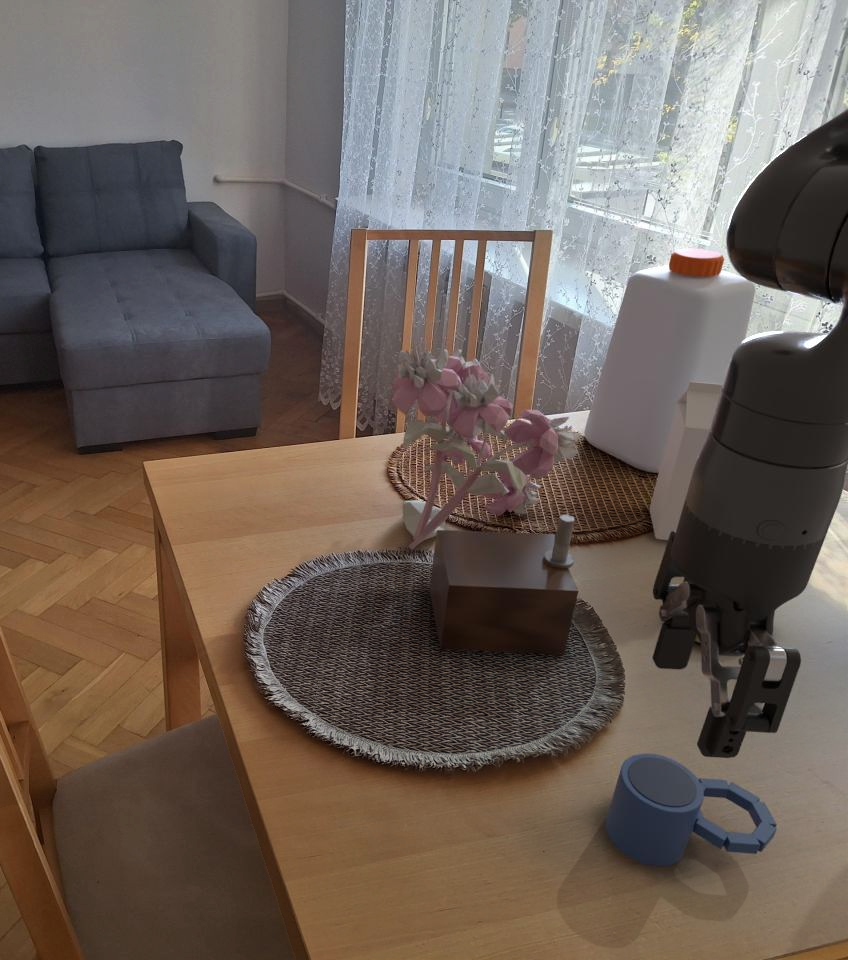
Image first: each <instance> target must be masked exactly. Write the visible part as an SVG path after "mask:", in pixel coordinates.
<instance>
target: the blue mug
mask: <svg viewBox="0 0 848 960" xmlns="http://www.w3.org/2000/svg"><path fill="white" fill-rule="evenodd" d="M620 767H621V768H620V771H619V774H618V777H617V781H616V783H615V787H614V791H613V795H612V798H611V801H610V805H609V807H608V811H607V815H606V818H605V830H606V833H607V836H608V837H609V839H610V841H611V843H613V845H614V846H615V847H616V848H617V849H618V850H619V851H620V852H621V853H623V854H624V855H625V856H627V857H629V858H630V859H632V860H634V861H636V862H639V863H641V864H644V865H648V866H654V867H668V866H671V865H674V864H676V863H677V862H679V861H680V860H681V859H682V858H683V856H684V854H685V851H686V848H687V845H688V843H689V840H690V837H691V835H692V833H694V834H696V835H697V836H699V837H700V838H702V839H704V840H705V841H706V842H708V843H709V844H711V845H712V846H714V847H715V848H717V849H718V850H722V849H723V847H724V849H725V852H727V853H740V854H753V855H758V852H760V853H763V851H764V850H765V849H766V847H767V846H768V845H769V843H770V842H771V841H772V840H773V838H774V837H775V835H776V832H777V823H776V821H775V819H774V817H773V815H772V814H771V812H770V809H769V808H768V806H767V805H766V802H764V801H760V800H761V798H760V797H759V796H757V795H756V794H754V793H752V792H750V791H749V790H747V789H745V788H744V787H742V786H740V785H738V784H737V783H736V782H733V781H732V782H730V783H729V782H728V781H727V780H726V779H714V778H701V777H700V778H698V777H697V776H696V775H695V774H694V773H693V772H692V771H691V770H690V769H689V768H687V767H686V766H685V765H683V764H682V763H680V762H678V761H677V760H674V759H672V758H671V757H667V756H664V755H661V754H656V753H646V752H645V753H637V754H634V755H631V756H630V757H628V758H626V759H625V760H624V761H623V763H622V764H621V766H620ZM705 798H720V799H727V800H728V801H729V802H731V803H733V804H734V805H736V806H738V807H739V808H740V809H743V810H745V811H746V812H747V813H748V814H749V816H750V818H751V820H752V821H753V824H754V825H755V828H754V830H753V831H752V832H751V833H747V832H735V831H727V830H725V829H723V828H721V827H720V826H719V825H717V824H716V823H714V822H712V821H710V820H709V819H708V818H706V817H705V816H704V814H703V812H702V810H701V808H702V804H703V802H704V799H705Z"/></svg>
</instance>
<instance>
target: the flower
mask: <svg viewBox="0 0 848 960" xmlns="http://www.w3.org/2000/svg"><path fill="white" fill-rule="evenodd" d="M462 351H463V350H462V349H459V348H453V351H452V354H451V355H449V352H450V351H449V350H447V349H445V348H444V349H443V350H442V351H441V353H440V354H439V356H438V357H437V358H433V352H432V351H430V350H429V351H428V349H427V345H426V341H425V340H422V341H420V342H418V343H413V349H412V354H410V352H409V351H408V350H407V349H406V350H404V349H402V350H400V351H399V354H398V357H397V361H398V363H397V369H398V373H397V375H396V376H395V378H394V379H393V381H392V383H391V389H392V390H396V391H394V395H393V398H392V403H393V404H394V406H395V407H396V408H397V409H398V411H399V412H400V413H402V414H404V415H407V414H408V413H409V411H410V410H411V409H412V406H414V404H415V402H416V400H417V405H418V410H419V411H420V412H421V414H422V415H423V417H425V416H426V417H429V418H430V419H431V420H432V422H429V423H427V422H426V421H424V420H423V419H416V420H415V419H414V420H410V421H409V422H408V425H407V428H406V429H405V431H404V435H403V440H402V441H403V442H402V443H403V445H402V447H403V448H402V451H403V452H404V451H405V450H406V449H407V448H408V446H409V445H410V444H411V443H413V442H416V441H417V440H418V439H419V438H421V437H422V436H423V435H426V436H427V437H429V438H430V439H431V440H433V441H435V442H436V443H433V444H432V445H431V446H430V447H428V449H427V450H426V451H425V452H426V453H427V452H429V451H432V450H435V453H434V459H433V463H432V464H428V465H427V467H425V469H424V470H423V471H422V473H425V472H427V471H431V476H430V482H429V483H430V484H429V488H428V489H429V490H428V495H427V498H426V502H424V501H422V500H420V499H416V500H415V499H414V500H413V499H411V500H405V501H403V503H402V519H403V522H404V526H405V528H406V530H407V531H408V532H409V534H410V535H411V536H412V540H413V541H412V542H411V543H409V545H408V548H410V549H409V550H413V549H415V548H416V547H417V546H418V545H419V544H421V543H422V542H424V541H425V540H428V539H431V538H434V537H436V533H437V530H446V520H447V519H448V518H449V517H450V516H451V514H452V513H453V512H454V511H455V510H456V509H457V507H458V506H459V505H460V504H461V502H462V501H463V500H464V499H465V498H466V497H467V495H469V494H470V495H474V496H477V497H478V496H483V497H484V498H485V499H488V500H489V499H490V500H491V499H493V500H495V501H493V502H491V503H490V504H485V505H484V508H483V510H484V511H486V512H488V513H489V514H493V515H496V516H499V517H500V516H502V515H503V514H504V513H505V512H506V511H508V512H509V513H511V512H513V513H515V515H527V512H526V510H528V509H527V507H531V506H532V505H534V506H537V504H539V502H540V499H539V498H538V497H537V496H538V490H539V489H541V485H540V484H537V483H535V482H532V481H530V478H533V479H534V480H540V479H542V478H545V477H547V476H548V474H549V473H550V471H551V470H552V468H553V467H554V465H555V463H556V462H561V461H565V459H567V460H573V458H575V456H576V455H577V454H578V453H579V451H578V450H577V449H575V448H578V449H579V447H578V446H577V445H576V444H577V443H578V441H579V439H581V438H582V437H583V435H581V433H576V432H575V433H573V432H569V431H571V430H572V429H573V427H572V425H570V426H568V425H565V426H564V427H561V428H560V426H561V425H563V424H566V423H567V421H568V420H569V418H570V416H564V417H562V416H561V417H557V418H556V417H555V418H553V419H550V418H548V417H547V416H546V415H545V414H543V413H542V412H541V411H540V410H538V409H524V410H523V411H522V412H521V413H520V414H519V415H518V416H519V417H520V418H521V419H519V418H516V419H515V420H513V422H512V423H510V424H509V425H508V426H507V427H506V428H505V426H506V424H507V423H508V421H509V419H510V417H511V416H512V415H513V414H512V413H513V411H514V407H515V406H514V405H513V403H512V402H510V400H508V399H506V398H504V397H502V396H501V394H500V386H499V385H497V384H495V383H496V382H495V376H494V374H493V372H491V373H490V376H489V375H488V374H487V373H486V372H485V370H483V368H482V366H481V364H480V362H479V360H478V359H477V358H475V357H474V358H473V359H472V360H471V361H465V358H464V357H463V356H462V355H461V352H462ZM459 355H461V356H459ZM522 419H523V420H522ZM525 420H526V421H525ZM527 421H529V422H527ZM439 423H440V424H439ZM481 434H482V440H481V439H477V438H478V436H479V435H481ZM488 435H490V436H493V437H497V438H500V439H501V440H502V443H503V445H504V446H506V443H507V440H510V441H511V442H513V444H512V445H509V446H507V447H506V448H503V449H502V450H499V451H498V452H497V453H496V454H494V455H493V456H491V455H492V447H491V446H490V444H489V443H487V439H488ZM446 439H448V440H446ZM445 440H446V441H445ZM470 447H471V448H470ZM524 447H525V448H527V449H526V450H524V451H522V452H520V453H517V454H516V455H515V456H514V457H513V459H512V460H509V459H499V458H500V457H501V456H503V455H504V454H505V453H506V452H509V451H513V450H516V449H517V450H518V449H519V448H524ZM573 447H574V448H573ZM476 454H477V455H478V457H476ZM476 458H477V459H476ZM448 459H449V460H450V461H451V462H452V463H453V464H454V465H463V464H464V463H466V467H467V469H466V474H464V473H462V472H461V471H460V470H458V469H457V468H456V467H454V466H453V465H451V464H450V462H449V463H448V462H447V461H448ZM482 460H483V461H484V460H486V461H484V462H483V463H482ZM471 469H472V473H471ZM482 472H489V473H486V474H481V473H482ZM495 473H497V474H498V475H499V477H500V478H499V477H498V476H497V475H496V474H495ZM442 474H444V475H446V476H447V478H449V481H450V482H451V483H452V485H453V486H454V488H455V489H456V492H455V493H454V494H453V496H452V497H451V498H450V499H449V500H448V501H447V503H446V504H445V505H444V506H443V507H442V508H440V507H437V506H434V504H435V500H436V496H437V493H438V490H439V489H438V488H439V485H440V481H441V476H442ZM531 488H532V489H534V490H532V489H531Z"/></svg>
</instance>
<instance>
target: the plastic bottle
mask: <svg viewBox="0 0 848 960" xmlns="http://www.w3.org/2000/svg"><path fill="white" fill-rule="evenodd" d="M724 263H725V257H724V255H723V254H722V253H721V252H718V251H716V250H711V249H706V248H700V247H699V248H696V247H684V248H679V249H676V250H674V251H672V253H671V255H670V259H669V263H668V264H667V265H660V266H656V267H651V268H646V269H642V270H639V271H638V270H637V271H636V272H634V273H633V274H631V275H630V277H629V278H628V280H627V283H626V287H625V290H624V292H623V297H622V299H621V302H620V307H619V310H618V314H617V317H616V320H615V324H614V327H613V331H612V335H611V337H610V340H609V344H608V348H607V351H606V355H605V359H604V361H603V364H602V367H601V371H600V375H599V379H598V382H597V385H596V386H597V387H596V389H595V393H594V396H593V399H592V402H591V406H590V409H589V413H588V417H587V421H586V423H585V426H584V431H583V434H584V438H585V439H586V441H587V442H588V443H589V444H590V445H591V446H592V447H594V448H596V449H598V450H600V451H602V452H604V453H605V454H608V455H609V456H612V457H614V458H615V459H617V460H619V461H621V462H623V463H625V464H627V465H629V466H631V467H633V468H635V469H636V470H637V469H638V470H640V471H643V472H647V473H652V474H653V473H654V474H659V470H660V466H661V462H662V459H663V455H664V451H665V447H666V443H667V439H668V436H669V432H670V428H671V424H672V420H673V416H674V413H675V409H676V405H677V402H678V400H679V399H680V398H681V397H682V396H683V394H684V393H685V392H686V391H687V389H688V385H689V382H690V381H693V382H704V383H715V384H723V382H724V379H725V375H726V372H727V369H728V365H729V362H730V360H731V358H732V355H733V353H734V351H735V350H736V348H737V347H738V346H739V345H740V344H741V343H742V342H743V341H744V340H746V339H747V333H748V328H749V323H750V319H751V314H752V309H753V304H754V299H755V295H756V286H755V283H753V282H751V281H749V280H747V279H745V278H744V277H742V276H741V275H737V274H735V273H732V272H728V271H724V270H722V269H723V265H724Z"/></svg>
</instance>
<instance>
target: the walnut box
mask: <svg viewBox="0 0 848 960" xmlns="http://www.w3.org/2000/svg"><path fill="white" fill-rule="evenodd" d="M557 522H558V523H557V527H556V533H555V534H554V533H530V532H529V533H528V532H527V533H526V532H504V531H500V532H499V531H478V530H477V531H475V530H474V531H473V530H452V529H451V530H447V529H445V530H437V533H436V536H435V544H434V551H433V559H432V565H431V566H432V567H431V575H430V583H429V595H430V600H431V605H432V610H433V611H432V612H433V615H434V621H435V626H436V632H437V637H438V644H439V647H440V650H456V651H475V652H477V651H478V652H495V653H512V654H513V653H514V654H531V655H533V654H534V655H553V656H564V655H565V654H566V653H565V652H566V648H567V644H568V639H569V635H570V631H571V626H572V622H573V617H574V612H575V608H576V605H577V599H578V595H579V589H578V586H577V585H576V582H575V579H574V578H573V575H572V573H571V571H570V568H571V567H573V565H574V563H575V558H574V556H573V555H572V554H570V553H569V550H570V549H569V548H570V545H571V539H572V535H573V530H574V525H575V522H576V519H575V517H574V516H572V515H570V514H561V515H559V518H558V521H557Z"/></svg>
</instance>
